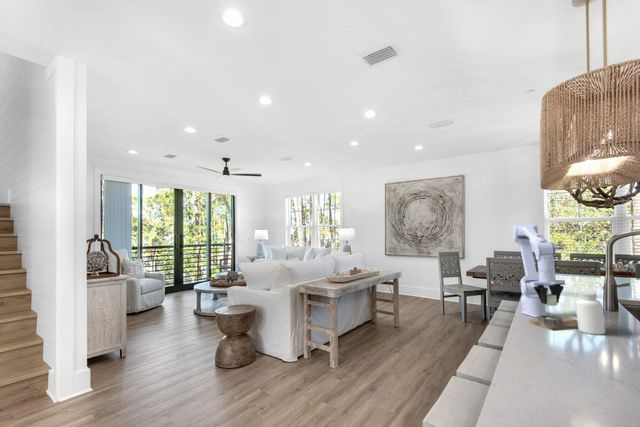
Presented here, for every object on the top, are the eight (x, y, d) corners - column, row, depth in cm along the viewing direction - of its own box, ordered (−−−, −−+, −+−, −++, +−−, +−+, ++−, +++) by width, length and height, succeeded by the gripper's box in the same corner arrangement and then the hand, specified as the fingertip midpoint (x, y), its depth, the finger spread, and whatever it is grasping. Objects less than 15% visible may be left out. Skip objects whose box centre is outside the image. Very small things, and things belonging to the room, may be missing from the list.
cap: (540, 303, 133) (538, 294, 133) (550, 302, 134) (549, 293, 134) (549, 306, 128) (548, 296, 128) (560, 305, 129) (559, 295, 129)
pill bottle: (594, 328, 125) (590, 290, 126) (611, 335, 117) (606, 294, 118) (573, 329, 125) (569, 291, 126) (588, 335, 117) (584, 295, 119)
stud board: (529, 322, 137) (528, 314, 137) (566, 319, 138) (565, 311, 139) (552, 330, 125) (551, 321, 125) (592, 327, 127) (591, 318, 127)
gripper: (538, 272, 127) (541, 306, 126) (570, 270, 129) (573, 303, 128) (525, 270, 134) (528, 302, 133) (555, 269, 136) (559, 300, 135)
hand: (549, 303), depth 131 cm, fingers closed on cap, 5 cm apart
